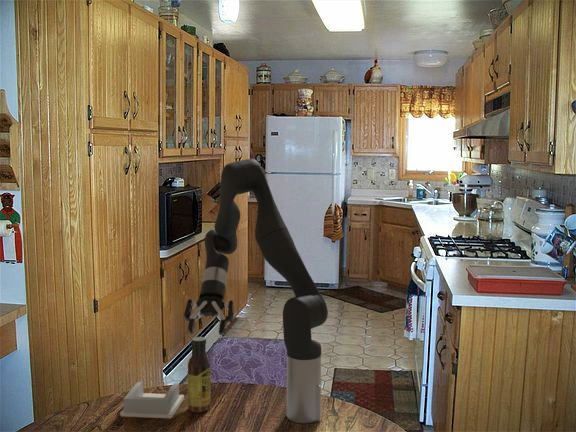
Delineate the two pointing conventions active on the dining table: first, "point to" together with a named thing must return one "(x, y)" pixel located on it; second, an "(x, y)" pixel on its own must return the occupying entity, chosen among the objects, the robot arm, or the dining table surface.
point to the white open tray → (151, 403)
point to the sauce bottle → (198, 377)
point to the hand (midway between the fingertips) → (205, 333)
